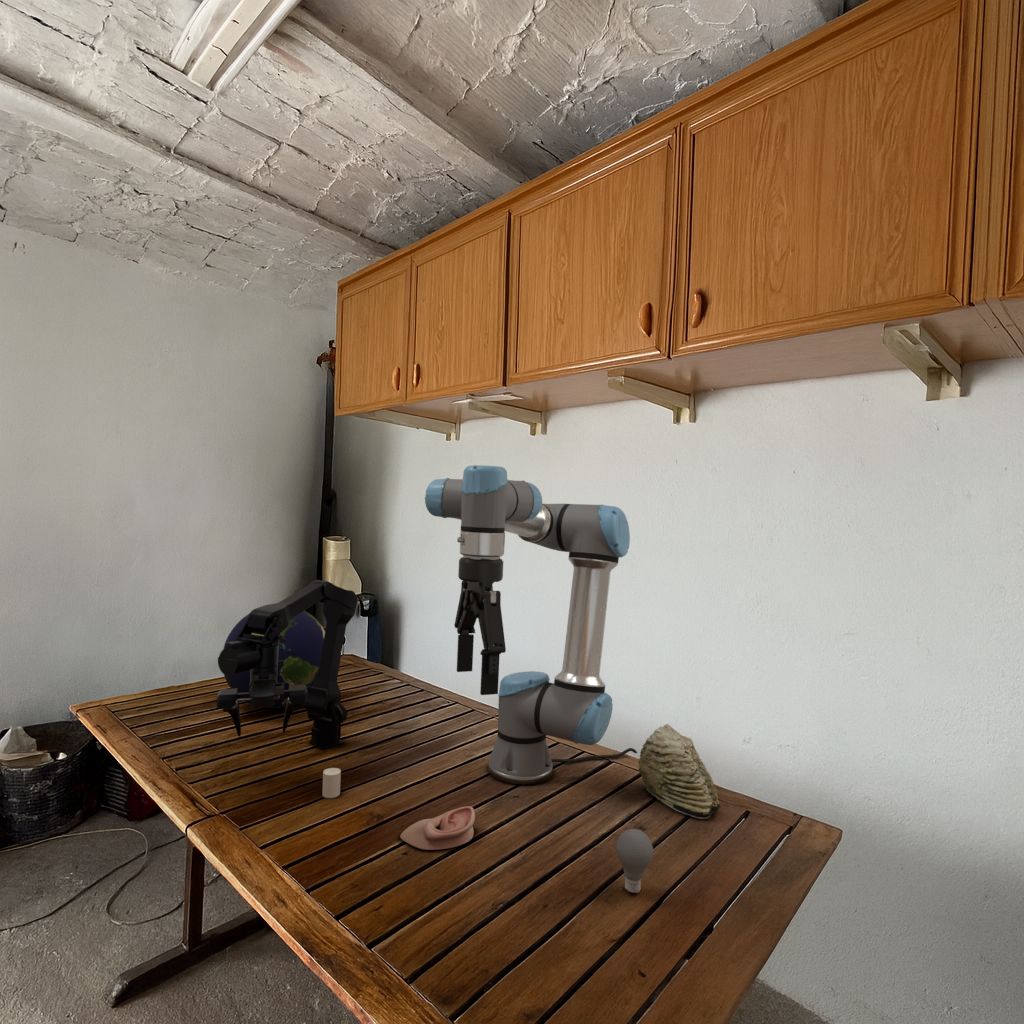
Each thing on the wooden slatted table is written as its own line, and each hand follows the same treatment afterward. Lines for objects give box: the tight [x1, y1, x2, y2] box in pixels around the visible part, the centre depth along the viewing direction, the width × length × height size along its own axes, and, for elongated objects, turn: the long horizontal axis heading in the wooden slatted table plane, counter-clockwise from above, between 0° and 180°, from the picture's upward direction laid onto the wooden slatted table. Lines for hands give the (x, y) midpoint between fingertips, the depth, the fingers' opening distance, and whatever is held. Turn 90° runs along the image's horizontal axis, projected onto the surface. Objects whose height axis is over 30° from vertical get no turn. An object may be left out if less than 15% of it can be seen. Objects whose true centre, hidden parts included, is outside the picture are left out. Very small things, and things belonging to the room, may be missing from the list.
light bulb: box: [615, 828, 654, 894], centre depth 106 cm, size 6×6×10 cm
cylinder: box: [321, 767, 342, 799], centre depth 135 cm, size 4×4×5 cm
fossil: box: [637, 723, 721, 820], centre depth 139 cm, size 9×18×15 cm, turn 46°
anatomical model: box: [399, 805, 476, 851], centre depth 120 cm, size 13×4×12 cm
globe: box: [222, 610, 325, 709], centre depth 188 cm, size 30×30×30 cm
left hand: (261, 734), depth 142 cm, fingers open, 9 cm apart
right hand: (476, 682), depth 107 cm, fingers open, 13 cm apart
